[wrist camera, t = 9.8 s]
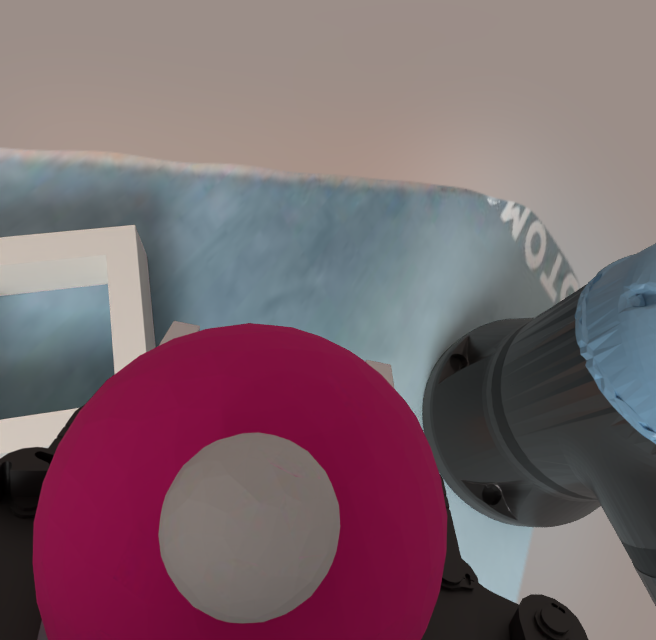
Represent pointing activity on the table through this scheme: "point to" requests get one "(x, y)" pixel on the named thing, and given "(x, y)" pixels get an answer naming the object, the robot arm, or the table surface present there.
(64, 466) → the pepper mill
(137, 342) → the holder collar
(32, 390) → the table surface
